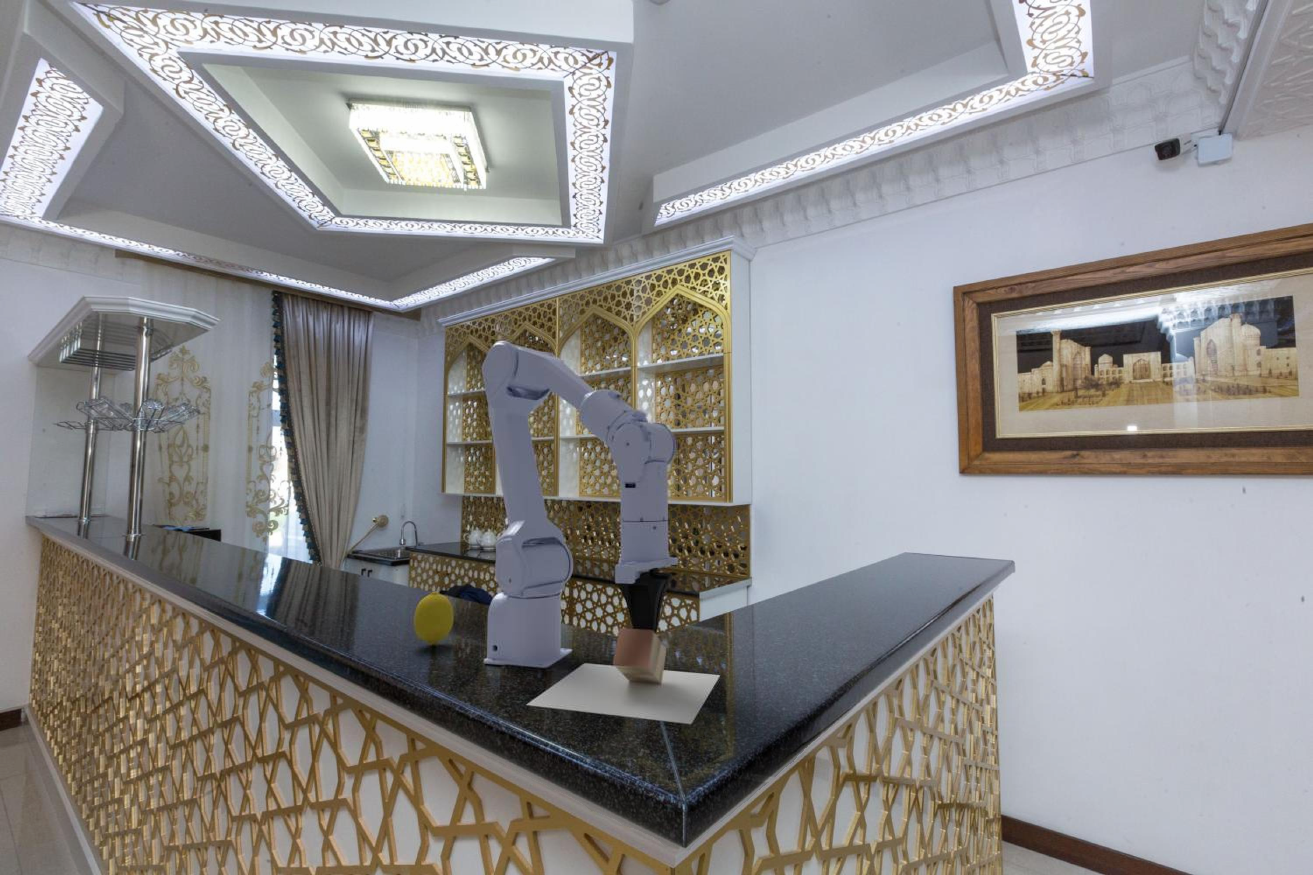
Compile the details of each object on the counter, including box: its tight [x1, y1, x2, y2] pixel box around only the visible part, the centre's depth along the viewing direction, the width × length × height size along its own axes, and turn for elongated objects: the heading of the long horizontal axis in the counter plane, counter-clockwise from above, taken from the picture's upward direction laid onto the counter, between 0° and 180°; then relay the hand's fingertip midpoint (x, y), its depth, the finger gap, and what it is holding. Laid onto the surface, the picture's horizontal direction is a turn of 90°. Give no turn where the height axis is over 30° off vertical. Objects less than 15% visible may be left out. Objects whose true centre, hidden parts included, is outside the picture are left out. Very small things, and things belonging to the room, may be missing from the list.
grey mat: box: [526, 662, 721, 725], centre depth 65 cm, size 18×15×1 cm
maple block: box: [612, 627, 667, 684], centre depth 66 cm, size 4×4×6 cm
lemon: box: [413, 591, 454, 645], centre depth 86 cm, size 6×6×8 cm
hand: (645, 636), depth 68 cm, fingers closed
